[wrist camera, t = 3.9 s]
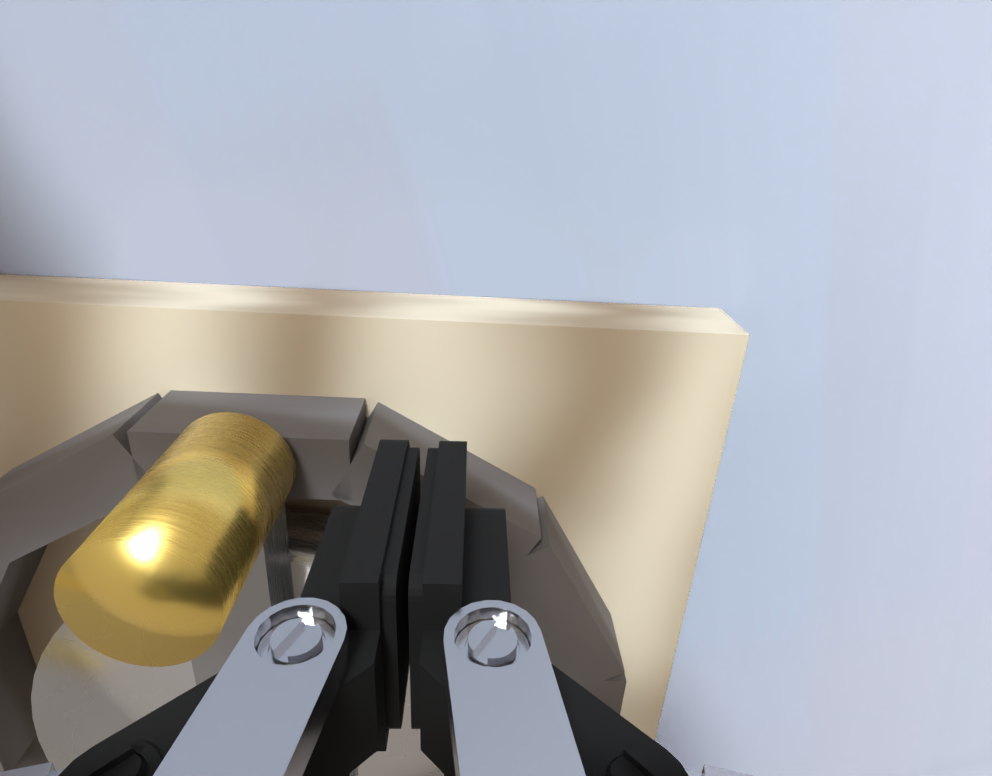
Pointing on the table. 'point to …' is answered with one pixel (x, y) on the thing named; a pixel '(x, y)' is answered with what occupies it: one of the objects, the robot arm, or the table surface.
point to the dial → (182, 589)
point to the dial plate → (438, 365)
